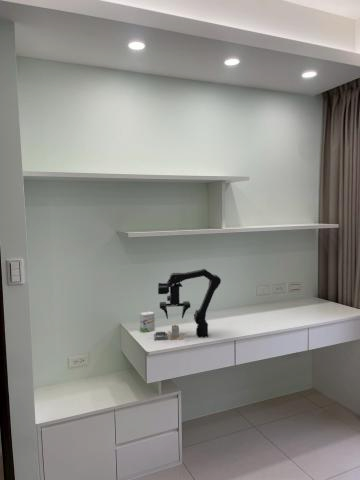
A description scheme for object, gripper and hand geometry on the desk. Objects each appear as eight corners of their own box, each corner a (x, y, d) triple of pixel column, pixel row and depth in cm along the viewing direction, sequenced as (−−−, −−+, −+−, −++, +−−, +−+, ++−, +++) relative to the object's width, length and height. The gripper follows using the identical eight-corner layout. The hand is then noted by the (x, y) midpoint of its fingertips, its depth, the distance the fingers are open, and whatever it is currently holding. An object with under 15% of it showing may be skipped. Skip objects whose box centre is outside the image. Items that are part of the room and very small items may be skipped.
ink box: (142, 332, 237) (142, 314, 236) (140, 330, 241) (139, 312, 240) (155, 330, 241) (154, 312, 240) (152, 328, 245) (151, 311, 244)
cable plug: (178, 334, 231) (178, 323, 231) (179, 337, 226) (178, 326, 226) (171, 335, 231) (171, 324, 230) (172, 337, 226) (172, 326, 225)
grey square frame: (166, 334, 233) (166, 331, 232) (167, 339, 224) (167, 336, 224) (154, 335, 232) (154, 332, 232) (154, 340, 223) (154, 337, 223)
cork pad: (181, 333, 234) (181, 333, 234) (183, 339, 225) (183, 338, 225) (167, 334, 233) (167, 334, 233) (168, 339, 224) (168, 339, 224)
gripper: (188, 290, 235) (188, 314, 237) (159, 291, 233) (159, 315, 235) (190, 294, 224) (190, 319, 225) (159, 295, 222) (160, 320, 224)
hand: (174, 318), depth 228 cm, fingers open, 9 cm apart
